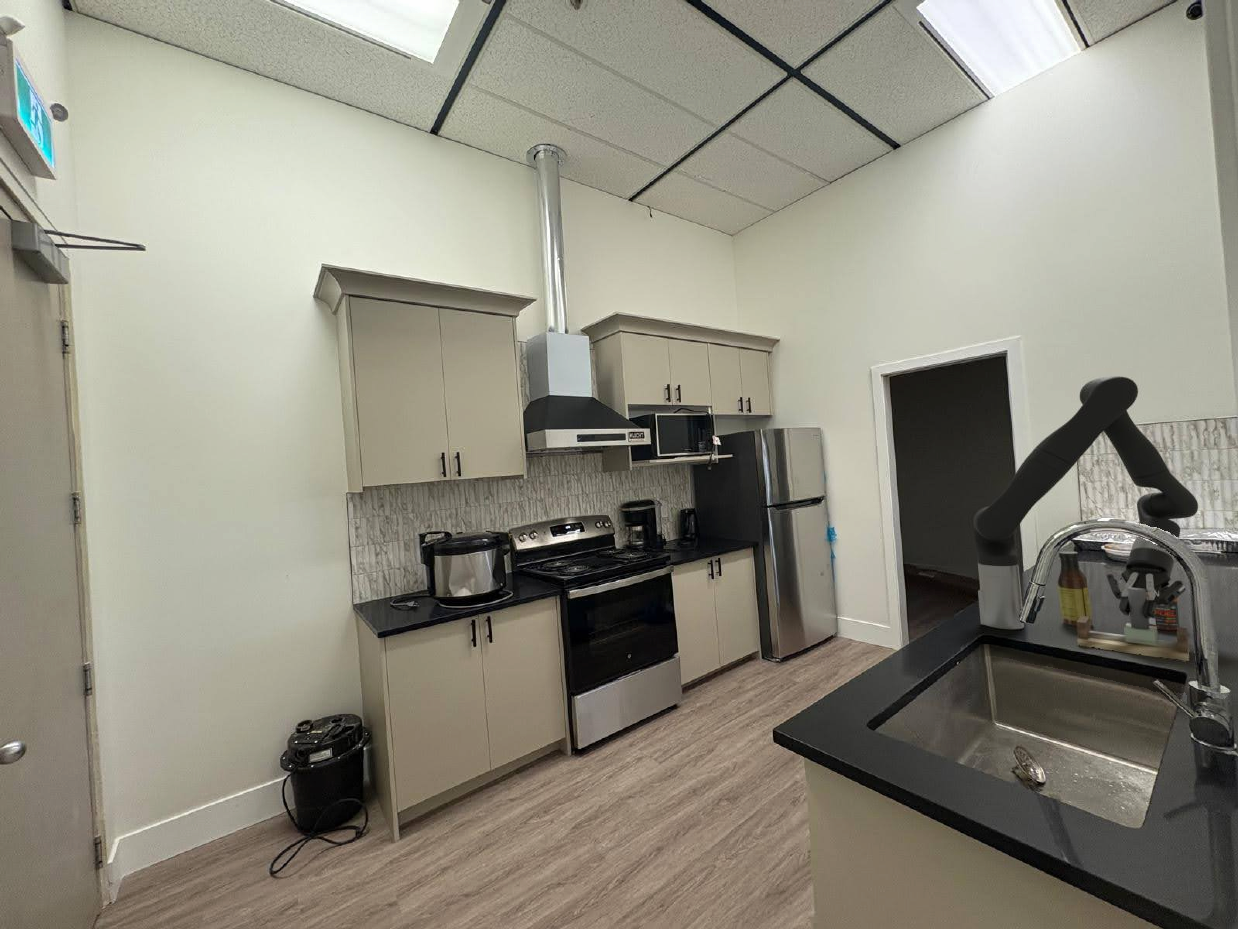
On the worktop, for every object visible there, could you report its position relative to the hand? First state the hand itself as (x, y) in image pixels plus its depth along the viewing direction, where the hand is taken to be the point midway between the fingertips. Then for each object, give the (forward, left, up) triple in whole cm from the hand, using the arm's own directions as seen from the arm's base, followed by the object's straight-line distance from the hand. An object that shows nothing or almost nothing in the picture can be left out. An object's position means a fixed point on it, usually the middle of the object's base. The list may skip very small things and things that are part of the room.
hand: (1135, 614), depth 118 cm
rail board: (-1, +2, -8) cm, 9 cm away
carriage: (0, +2, -7) cm, 7 cm away
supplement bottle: (+3, +27, -9) cm, 28 cm away
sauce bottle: (-13, +19, -9) cm, 25 cm away
